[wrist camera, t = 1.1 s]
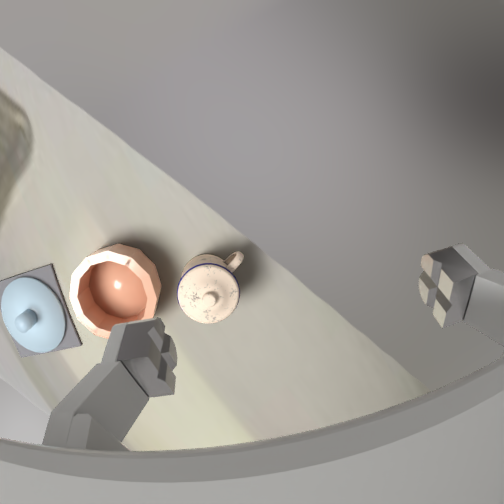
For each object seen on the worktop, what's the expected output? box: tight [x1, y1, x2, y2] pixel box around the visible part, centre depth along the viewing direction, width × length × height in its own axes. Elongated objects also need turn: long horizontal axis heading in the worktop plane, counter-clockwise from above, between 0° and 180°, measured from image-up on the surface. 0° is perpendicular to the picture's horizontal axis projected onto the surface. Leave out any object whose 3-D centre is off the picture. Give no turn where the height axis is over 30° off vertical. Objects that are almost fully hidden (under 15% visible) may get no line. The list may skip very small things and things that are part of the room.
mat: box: [0, 264, 82, 357], centre depth 49 cm, size 16×16×1 cm
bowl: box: [69, 243, 162, 339], centre depth 48 cm, size 14×14×7 cm
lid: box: [1, 277, 66, 353], centre depth 47 cm, size 15×15×5 cm
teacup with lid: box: [177, 251, 244, 323], centre depth 48 cm, size 12×9×12 cm
